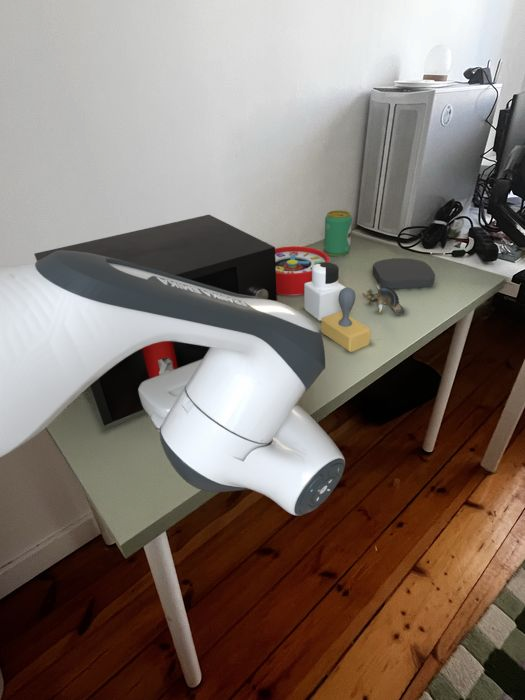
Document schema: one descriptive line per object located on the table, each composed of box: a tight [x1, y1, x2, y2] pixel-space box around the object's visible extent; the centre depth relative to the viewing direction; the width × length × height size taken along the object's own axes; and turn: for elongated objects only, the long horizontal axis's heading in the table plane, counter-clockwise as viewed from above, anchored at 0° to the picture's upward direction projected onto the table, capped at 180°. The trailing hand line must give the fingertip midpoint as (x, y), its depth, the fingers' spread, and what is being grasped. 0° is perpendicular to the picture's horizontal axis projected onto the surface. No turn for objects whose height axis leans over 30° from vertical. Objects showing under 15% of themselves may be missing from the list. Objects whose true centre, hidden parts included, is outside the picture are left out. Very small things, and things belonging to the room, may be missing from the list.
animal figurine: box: [362, 284, 406, 316], centre depth 103 cm, size 8×7×9 cm
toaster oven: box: [33, 214, 278, 431], centre depth 84 cm, size 36×27×24 cm
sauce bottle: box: [142, 341, 178, 379], centre depth 81 cm, size 6×6×16 cm
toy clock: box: [275, 245, 330, 296], centre depth 120 cm, size 20×6×20 cm
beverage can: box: [323, 209, 353, 257], centre depth 134 cm, size 8×8×12 cm
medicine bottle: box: [303, 261, 347, 322], centre depth 102 cm, size 7×7×12 cm
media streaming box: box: [372, 257, 436, 289], centre depth 118 cm, size 15×15×3 cm
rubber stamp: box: [320, 287, 372, 353], centre depth 91 cm, size 10×6×12 cm, turn 31°
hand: (194, 351), depth 63 cm, fingers open, 8 cm apart
